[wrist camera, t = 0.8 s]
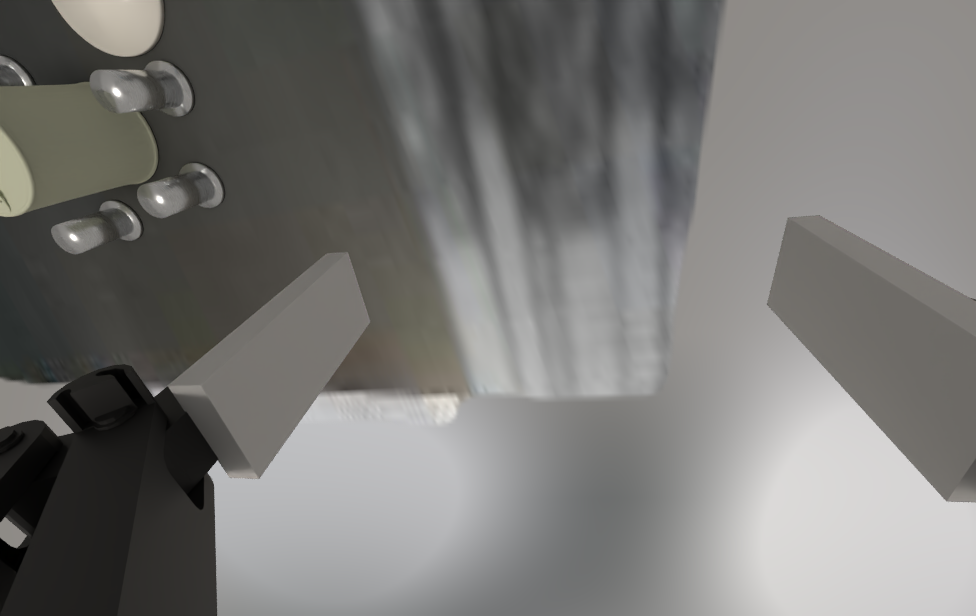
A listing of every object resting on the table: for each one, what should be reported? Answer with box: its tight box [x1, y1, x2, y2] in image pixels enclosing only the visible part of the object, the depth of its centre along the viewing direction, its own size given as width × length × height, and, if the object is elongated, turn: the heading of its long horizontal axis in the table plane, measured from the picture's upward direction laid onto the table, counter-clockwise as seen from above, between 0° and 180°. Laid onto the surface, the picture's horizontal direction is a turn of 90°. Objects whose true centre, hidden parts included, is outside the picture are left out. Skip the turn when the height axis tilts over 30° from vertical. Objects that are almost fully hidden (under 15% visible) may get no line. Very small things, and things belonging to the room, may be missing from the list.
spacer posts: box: [0, 55, 225, 254], centre depth 35 cm, size 25×19×6 cm
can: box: [0, 82, 158, 217], centre depth 35 cm, size 9×9×12 cm
